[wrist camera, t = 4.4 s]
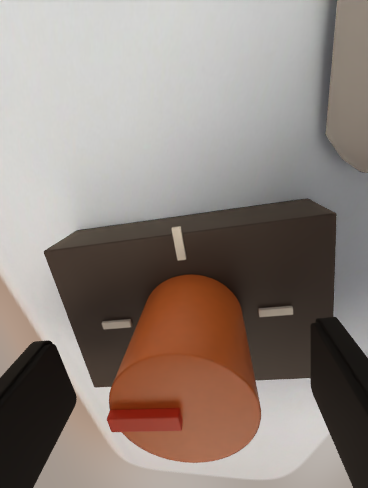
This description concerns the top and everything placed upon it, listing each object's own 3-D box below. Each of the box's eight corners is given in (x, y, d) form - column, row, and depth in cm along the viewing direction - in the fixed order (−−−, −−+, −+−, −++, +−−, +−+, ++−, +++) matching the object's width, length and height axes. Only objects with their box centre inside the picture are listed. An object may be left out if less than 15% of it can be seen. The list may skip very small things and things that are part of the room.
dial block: (308, 191, 12) (340, 205, 9) (309, 338, 15) (333, 385, 12) (74, 225, 14) (37, 246, 11) (114, 351, 17) (94, 394, 14)
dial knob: (237, 268, 11) (257, 357, 6) (246, 353, 12) (267, 475, 8) (134, 279, 11) (85, 367, 7) (155, 358, 13) (125, 474, 8)
